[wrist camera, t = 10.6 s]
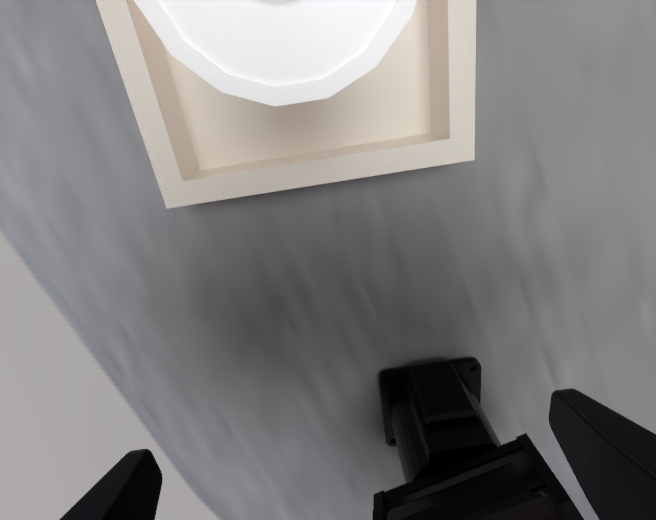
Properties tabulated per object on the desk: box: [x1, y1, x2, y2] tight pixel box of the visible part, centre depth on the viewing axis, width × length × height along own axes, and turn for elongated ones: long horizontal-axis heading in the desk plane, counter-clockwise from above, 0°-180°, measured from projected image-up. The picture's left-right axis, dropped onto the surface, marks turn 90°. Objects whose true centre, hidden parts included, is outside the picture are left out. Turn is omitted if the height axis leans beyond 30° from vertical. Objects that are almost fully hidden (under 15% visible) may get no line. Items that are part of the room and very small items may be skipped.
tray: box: [96, 0, 476, 209], centre depth 14 cm, size 13×13×4 cm
